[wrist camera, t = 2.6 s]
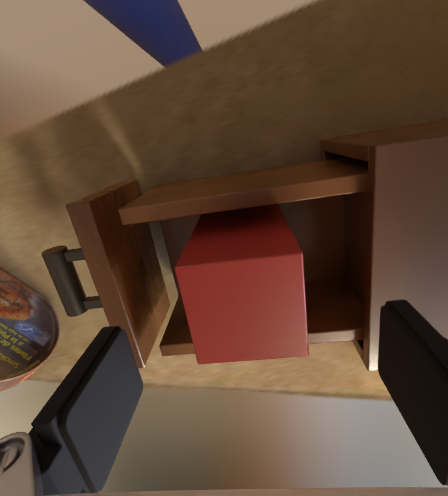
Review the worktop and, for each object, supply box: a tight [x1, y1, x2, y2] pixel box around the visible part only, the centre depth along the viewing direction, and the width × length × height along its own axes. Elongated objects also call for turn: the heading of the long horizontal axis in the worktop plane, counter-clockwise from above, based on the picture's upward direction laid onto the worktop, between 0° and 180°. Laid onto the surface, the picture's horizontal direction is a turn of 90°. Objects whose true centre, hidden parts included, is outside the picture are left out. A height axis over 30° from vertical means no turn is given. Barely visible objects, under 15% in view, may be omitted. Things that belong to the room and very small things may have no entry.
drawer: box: [42, 157, 369, 368], centre depth 18 cm, size 20×10×7 cm, turn 99°
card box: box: [175, 204, 309, 364], centre depth 16 cm, size 5×5×8 cm
